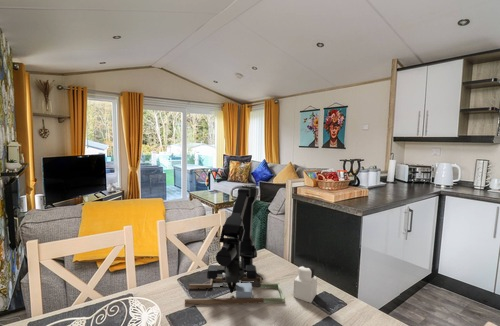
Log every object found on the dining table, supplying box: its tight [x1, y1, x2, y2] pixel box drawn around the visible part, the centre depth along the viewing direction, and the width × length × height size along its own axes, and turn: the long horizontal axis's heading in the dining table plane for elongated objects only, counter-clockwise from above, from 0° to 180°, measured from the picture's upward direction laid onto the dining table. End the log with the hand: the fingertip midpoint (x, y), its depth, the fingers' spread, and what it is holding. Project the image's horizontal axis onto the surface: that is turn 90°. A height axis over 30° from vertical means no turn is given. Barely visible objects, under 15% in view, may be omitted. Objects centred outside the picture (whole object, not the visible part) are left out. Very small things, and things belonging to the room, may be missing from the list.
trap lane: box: [184, 276, 285, 305], centre depth 104 cm, size 16×37×2 cm, turn 94°
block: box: [235, 282, 253, 298], centre depth 100 cm, size 6×6×4 cm
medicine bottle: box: [293, 263, 318, 304], centre depth 102 cm, size 7×7×12 cm
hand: (231, 292), depth 101 cm, fingers closed
